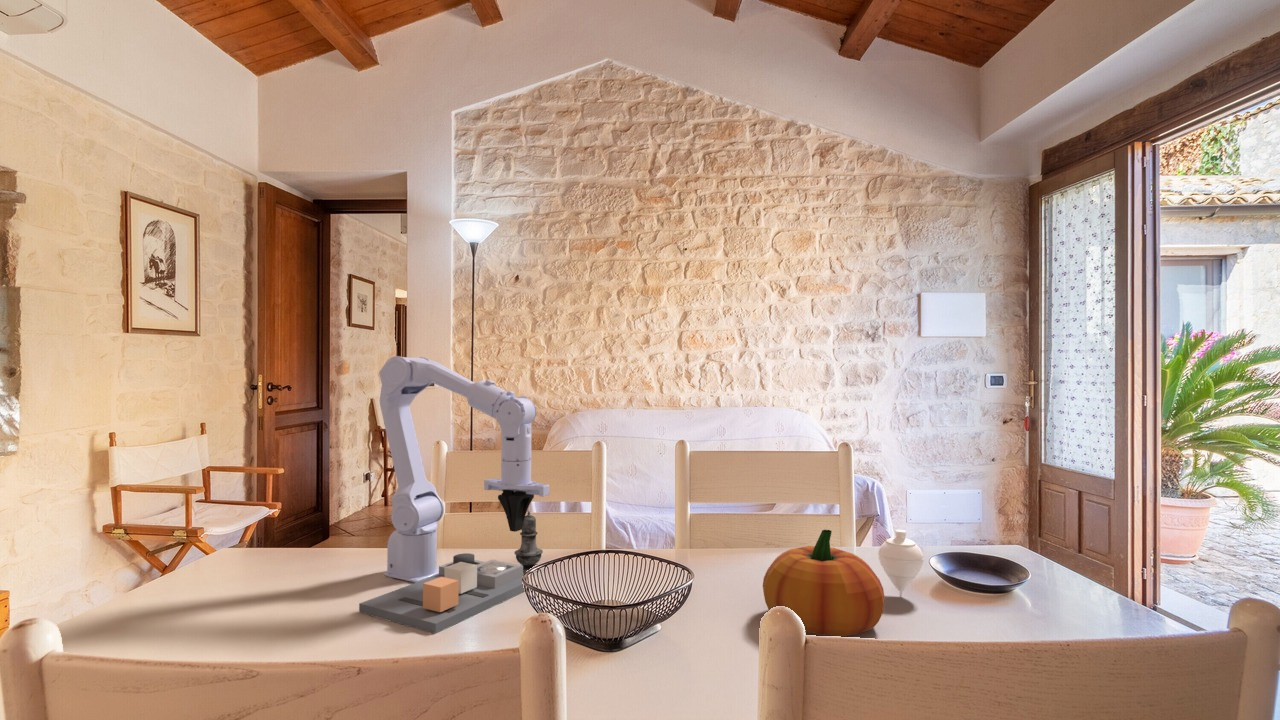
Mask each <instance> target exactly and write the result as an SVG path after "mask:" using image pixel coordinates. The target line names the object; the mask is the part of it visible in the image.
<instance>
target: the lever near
mask: <svg viewBox="0 0 1280 720" xmlns="http://www.w3.org/2000/svg"><path fill="white" fill-rule="evenodd" d="M458 596H459V580H455V579H450V578H445V577H439V578H436V579H434V580H431V581H428V582H426V583H423V608H425V609H429V610H433V611H437V612H442V611H444V610H447V609H449V608H451V607H454V606H456V605H458Z"/></svg>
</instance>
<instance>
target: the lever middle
mask: <svg viewBox="0 0 1280 720" xmlns="http://www.w3.org/2000/svg"><path fill="white" fill-rule="evenodd" d="M444 577H445V578H450V579H455V580H459V593H460V594H462V593H464V592H466V591H469V590H471V589H474V588H476V587H477V565H475V564H470V563H465V562H459V563H456V564H453V565H450V566H447V567H445V568H444Z"/></svg>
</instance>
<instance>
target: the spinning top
mask: <svg viewBox="0 0 1280 720" xmlns="http://www.w3.org/2000/svg"><path fill="white" fill-rule="evenodd" d="M894 534H895V535H894V536H895V537H890V538H887V539H886V540H885V541H884V542H883V543H882V544H881V546H880V547H879V549H878V560H879V563H880V566H881V567H882V570H883V571H884V573H885V574H886V576H887V577H888V579H889V581H890V582H891V584H893V586H894V587H895V589H897V590H898V592H899V596H900V597H902V596H903V592H904V591H905V590H906V589H908V587H909V586H910V585H911V584H912V583H913V581H914V580H915V579H916V578H917V576H918V575H919V573H920V571H921V570H922V567H923V565H924V554H923V551H922V550H921V548H920V547H919V546H918V545H917V543H916V542H915V541H913V540H912V539H909V538H907V531H906V530H904V529H895V530H894Z"/></svg>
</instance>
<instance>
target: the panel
mask: <svg viewBox="0 0 1280 720" xmlns="http://www.w3.org/2000/svg"><path fill="white" fill-rule="evenodd" d="M488 563H503V564H506V566H507V569H506V570H504V571H502V572H499V573H497V574H490V573H485V572H480V566H482V565H484V564H488ZM474 564H475V565H477V587H476V588H474V589H471V590H469V591H466V592H464V593H462V594H460V593H459V596H458V605H456V606H454V607H451V608H449V609H447V610H444V611H442V612H437V611H433V610H429V609H425V608H423V583H426V582H428V581H431V580H434V579H436V578H439V577H444V568H445V567H447V566H450V565H453V561H451V562H448V563H445V564H442V565H440V566H438V568H439V574H438V575H436V576H433V577H430V578H428V579H425V580H422V581H419V582H413V583H412V584H408V585H406V586H404V587H400V588H398V589H395V590H392V591H390V592H387V593H384V594H381V595H379V596H376V597H373V598H370V599H368V600H365V601H362V602H360V603H359V606H358V609H359V610H358V612H359V613H360V614H364V615H367V616H371V617H375V618H378V619H382V620H386V621H389V622H393V623H395V624H396V623H397V624H400V625H403V626H408V627H411V628H413V629H414V628H415V629H419V630H423V631H427V632H430V633H434V634H438V633H440V632H442V631H443V630H445V629H449V628H450V627H452V626H454V625H456V624H459V623H461V622H464V621H466V620H467V619H469V618H471V617H474V616H475V615H479V614H480V613H481V612H484V611H486V610H488V609H490V608H492V607H494V606H497V605H499V604H501V603H503V602H505V601H507V600H510V599H511V598H513V597H516V596H518V595H520V594H522V593H524V592H525V591H524V588H523V584H522V576H523V575H524V574H525V573H523V565H522V564H517V563H512V562H505V561H500V560H496V559H495V560H494V559H490V560H486V561H482V560H476V559H474Z"/></svg>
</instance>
